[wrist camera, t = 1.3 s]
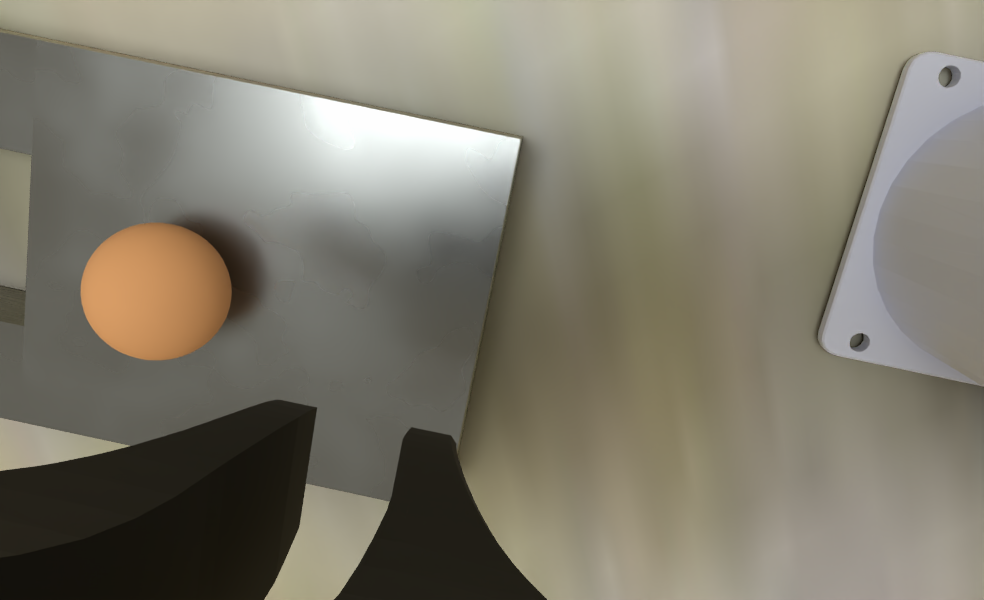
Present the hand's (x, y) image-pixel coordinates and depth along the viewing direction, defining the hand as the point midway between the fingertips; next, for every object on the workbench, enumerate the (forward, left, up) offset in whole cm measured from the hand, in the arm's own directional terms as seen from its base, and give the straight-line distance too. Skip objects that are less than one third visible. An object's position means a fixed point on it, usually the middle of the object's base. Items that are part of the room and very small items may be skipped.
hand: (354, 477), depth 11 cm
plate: (+8, 0, -10) cm, 13 cm away
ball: (+6, 0, -6) cm, 9 cm away
